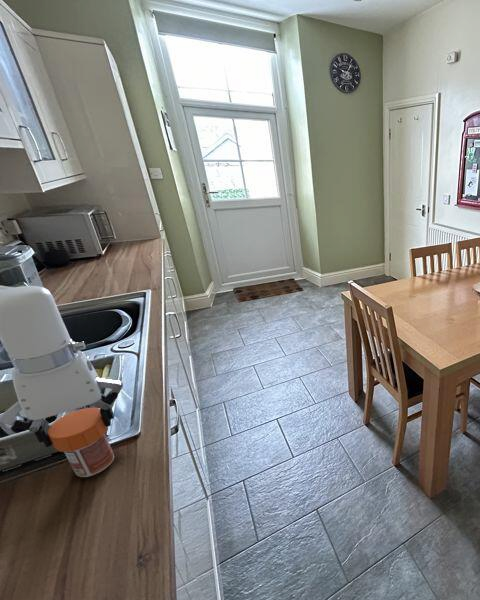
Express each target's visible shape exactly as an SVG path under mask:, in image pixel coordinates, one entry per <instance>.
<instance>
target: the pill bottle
mask: <svg viewBox="0 0 480 600" xmlns="http://www.w3.org/2000/svg"><path fill="white" fill-rule="evenodd" d="M63 453H64V455H65V456H66V459H67V460H68V462H69V464H70V466H71V468H72V470H73V471H74V474H75V475H76V476H77V477H79V478H89V477H93V476H95V475H97V474H99V473H101V472H103V471H104V470H106V469H107V468H108V467H109V466H110V465H112V463H113V461H114V459H115V454H114V451H113V449H112V447H111V445H110V442H109V440H108V438H107V435H106V433H105V434H104V435H103V436H102V437H101V438H100V439H99V440H97V441H95V442H94V443H92V444H90V445H89V446H86V447H84V448H81V449H78V450H75V451H67V452H63Z"/></svg>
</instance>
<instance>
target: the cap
mask: <svg viewBox="0 0 480 600" xmlns="http://www.w3.org/2000/svg"><path fill="white" fill-rule="evenodd" d="M49 426H50V428H49V430H48V435H49V436H48V437H49V439H50V441H51V442H52V447H53V448H54V449H55V450H56V451H58V452H60V453H64V452H67V451H75V450H78V449H81V448H84V447H86V446H89V445H90V444H92V443H94V442H95V441H97V440H99V439H100V438H101V437H102V436H103V435H104V434H105V435H106V433H107V432H108V430H109V426H108V427H107V426H105V423H104V421H103V419H102V416H101V414H100V408H99V407H85V408H84V407H83V408H81V409H80V408H79V409H76V410H73V411H71V412H69V413H67V414H64V415H63V416H61V417H59V418H58V419H57V420H55V421H54V422H53V423H52V424H51V425H49Z"/></svg>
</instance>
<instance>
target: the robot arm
mask: <svg viewBox="0 0 480 600" xmlns="http://www.w3.org/2000/svg"><path fill="white" fill-rule="evenodd" d="M0 342H1V345H2V346H3V349H4V350H5V352H6V354H7V356H8V358H9V360H10V362H11V364H12V366H13V368H12V370H11V380H12V384H13V388H14V392H15V395H16V398H17V401H15V403H14V404H12V405H11V406H10V407H8V408H7V409H6V410H5V411H4V412H3V413H1V414H0V423H1V424H5V425H8V426H13V428H14V429H20V430H27V431H28V432H29V433H34V435H35V436H36V439H37V440H38V442H39V443H40V444H41V443H43V445H44V446H45V447H46V448H50V447H51V446H53V444H52V442H51V441H50V439H49V437H48V436H49V435H48V430H49V428H50V426H51V425H50V424H49V422H48V421H47V420H45V419H47V418H51V417H54V416H57V415H61V414H64V413H67V412H70V411H71V412H72V411H75V410H78V409H80V408H81V409H82V408H84V407H86V406H89V405H92V406H93V407H96V408H99V409H100V414H101V416H102V419H103V421H104V423H105V426H107V427H108V428H109V427H111V426H112V420H113V419H115V413H114V411H113V408H112V406H111V405H112V404H113V403H114V402H115V401H116V399H118V396H119V394H120V393H121V391H122V389H123V387H124V382H123V381H122V380H115V379H110V378H109V379H108V378H103V377H99V375H98V373H97V371H96V369H95V367H94V366H93V364H92V363H91V361H90V360H89V358H88V357H87V355H86V354H85V353H84V352H83V351H82V350H85V349H86V344H85V341H81V342H77V341H74V340H73V338H71V336H70V334H69V331H68V328H67V327H66V325H65V322H64V320H63V317H62V315H61V312H60V310H59V308H58V306H57V303H56V300H55V298H54V295H53V294H52V293H51V292H50V291H49V289H47V288H45V287H43V286H38V285H22V286H15V287H13V286H7V285H0ZM103 389H111V390H110V391H109V392H108V394H103V393H102V391H101V390H103ZM21 411H22V413H23V414H24V416H19V415H18V414H19V413H20V412H21Z"/></svg>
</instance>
